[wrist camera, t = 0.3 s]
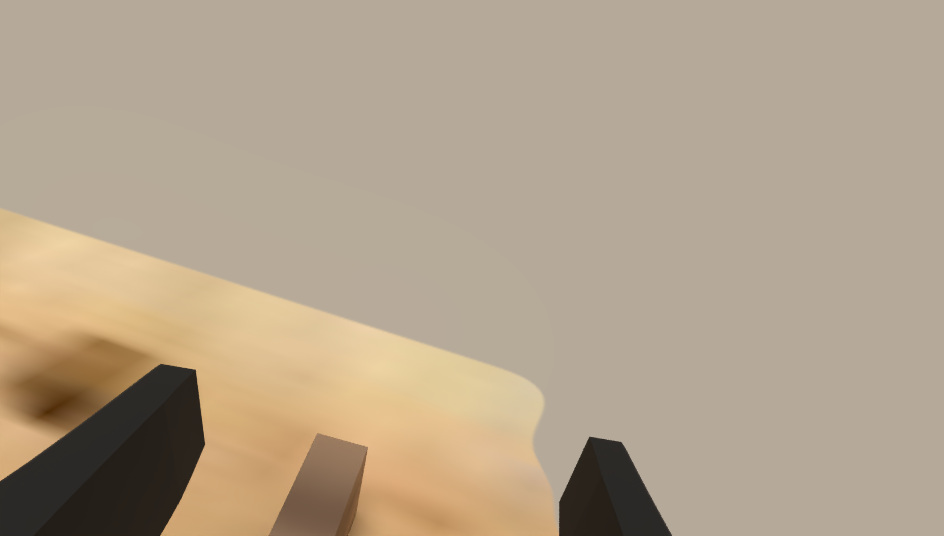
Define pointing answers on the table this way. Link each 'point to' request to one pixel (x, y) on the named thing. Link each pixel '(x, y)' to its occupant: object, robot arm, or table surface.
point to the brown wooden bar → (324, 490)
